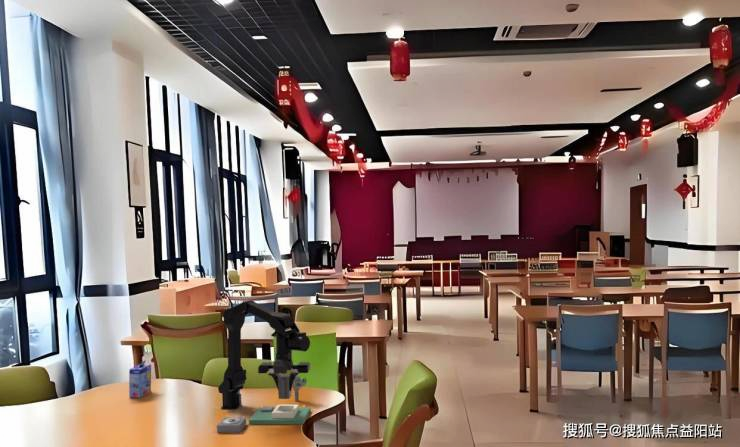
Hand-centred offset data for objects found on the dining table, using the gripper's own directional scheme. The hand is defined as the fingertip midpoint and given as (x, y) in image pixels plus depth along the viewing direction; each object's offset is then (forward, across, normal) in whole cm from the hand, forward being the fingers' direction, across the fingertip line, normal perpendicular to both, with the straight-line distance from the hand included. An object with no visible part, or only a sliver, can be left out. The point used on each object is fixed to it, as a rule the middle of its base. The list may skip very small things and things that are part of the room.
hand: (285, 390), depth 207 cm
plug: (+2, 0, 0) cm, 2 cm away
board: (+10, -2, 0) cm, 10 cm away
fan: (+10, -17, -11) cm, 23 cm away
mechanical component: (+10, 0, +20) cm, 22 cm away
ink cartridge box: (+10, -71, +30) cm, 78 cm away
